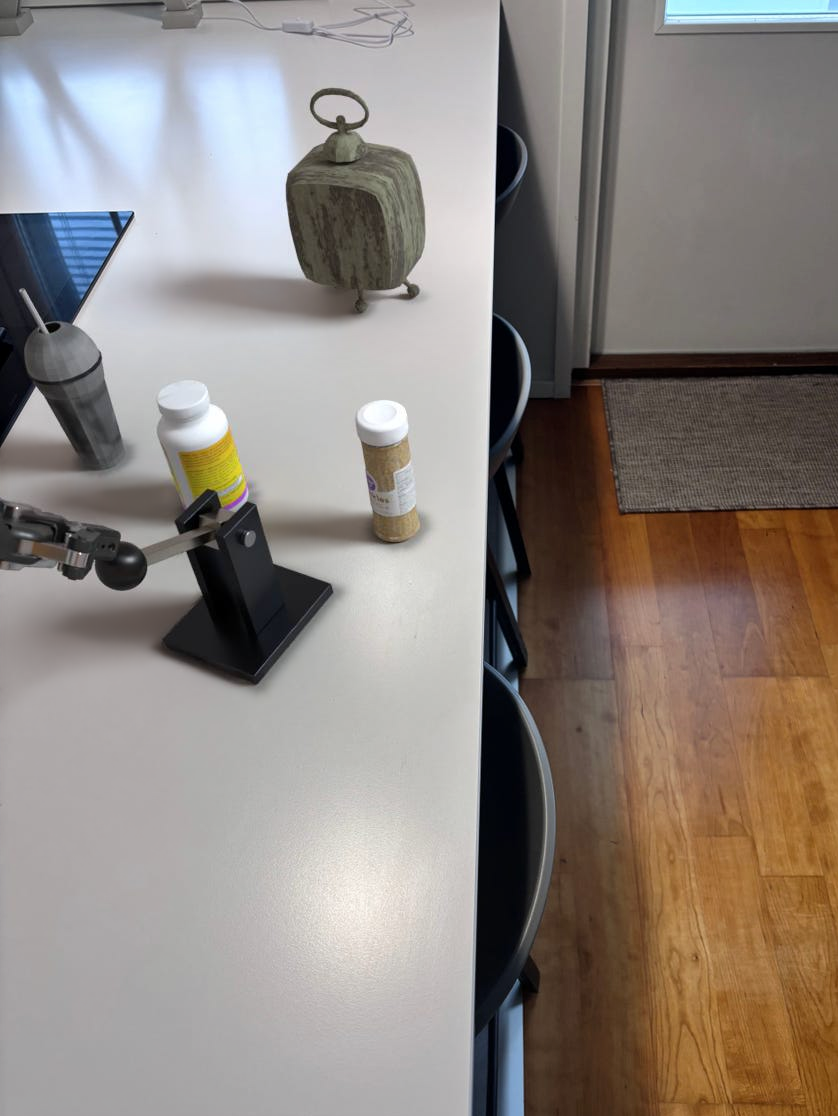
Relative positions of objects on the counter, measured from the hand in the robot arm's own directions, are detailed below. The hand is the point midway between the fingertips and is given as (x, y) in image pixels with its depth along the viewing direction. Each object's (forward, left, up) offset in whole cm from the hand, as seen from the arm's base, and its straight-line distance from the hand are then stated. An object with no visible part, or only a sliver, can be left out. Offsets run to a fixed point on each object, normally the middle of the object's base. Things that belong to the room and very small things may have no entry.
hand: (110, 543), depth 69 cm
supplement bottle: (-13, +22, -18) cm, 31 cm away
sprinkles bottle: (+6, +26, -18) cm, 32 cm away
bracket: (0, +10, -18) cm, 21 cm away
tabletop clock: (-19, +61, -18) cm, 66 cm away
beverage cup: (-29, +23, -18) cm, 41 cm away
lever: (0, +4, -6) cm, 7 cm away
